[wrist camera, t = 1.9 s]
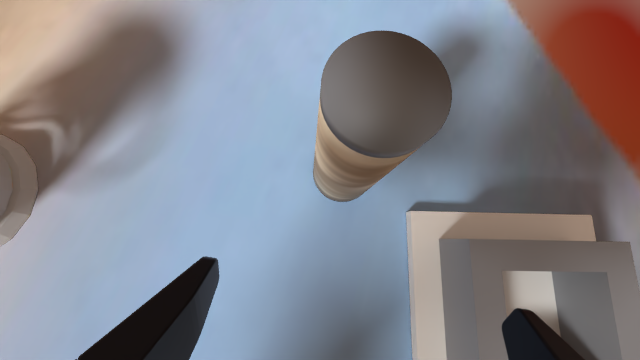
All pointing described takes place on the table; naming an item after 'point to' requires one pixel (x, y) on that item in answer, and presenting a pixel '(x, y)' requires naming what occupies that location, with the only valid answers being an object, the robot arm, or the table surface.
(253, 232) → the table surface
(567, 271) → the post socket
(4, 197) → the french press
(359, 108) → the rail post
